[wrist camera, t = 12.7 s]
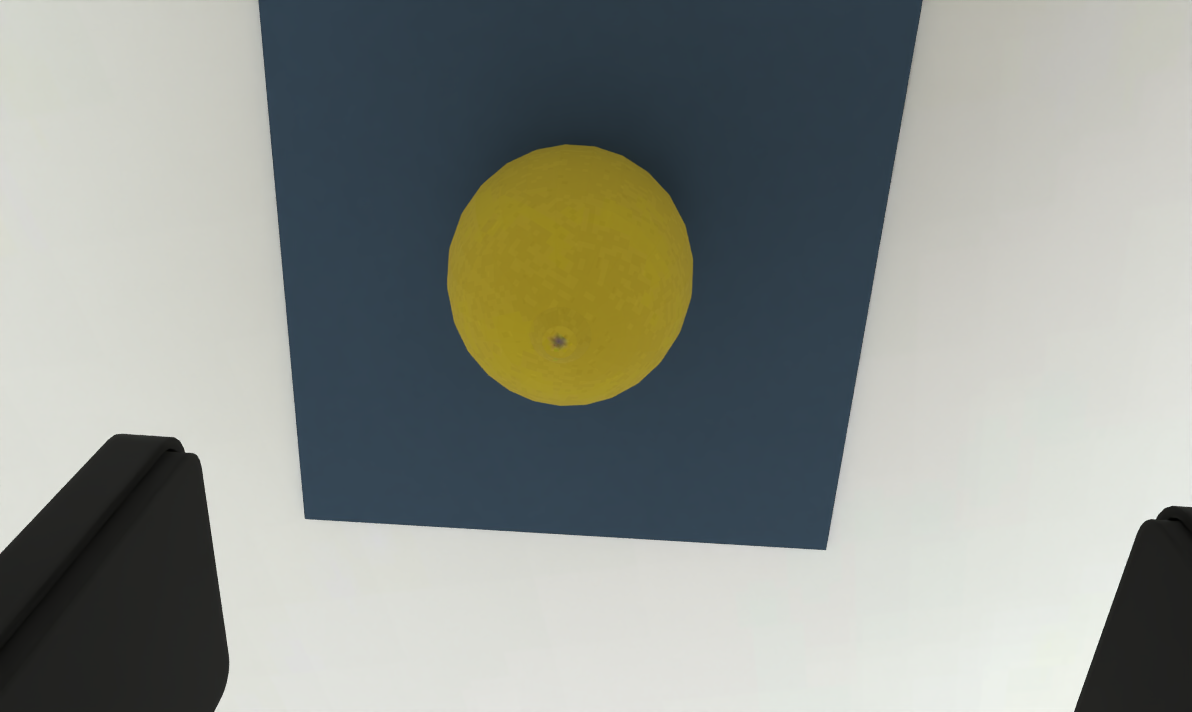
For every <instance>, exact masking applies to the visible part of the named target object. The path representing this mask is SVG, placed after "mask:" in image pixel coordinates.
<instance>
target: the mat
mask: <svg viewBox="0 0 1192 712" xmlns="http://www.w3.org/2000/svg"><path fill="white" fill-rule="evenodd" d="M922 1H923V0H259V11H260V22H261V34H262V45H263V56H264V67H265V78H266V89H267V101H268V112H269V123H270V134H271V145H272V156H273V168H274V179H275V190H276V201H277V212H278V224H279V235H280V246H281V257H282V268H283V279H284V291H285V302H286V313H287V324H288V335H289V346H290V358H291V369H292V380H293V391H294V402H295V413H296V425H297V436H298V447H299V458H300V469H301V480H302V492H303V503H304V514H305V519H315V520H332V521H349V522H365V523H382V524H399V525H416V526H432V527H449V528H466V529H483V530H499V531H516V532H533V533H550V534H566V535H583V536H600V537H617V538H633V539H650V540H667V541H684V542H700V543H717V544H734V545H751V546H767V547H784V548H801V549H818V550H826V547H827V541H828V535H829V530H830V524H831V518H832V512H833V507H834V501H835V495H836V490H837V484H838V478H839V473H840V467H841V461H842V456H843V450H844V444H845V439H846V433H847V427H848V422H849V416H850V410H851V404H852V399H853V393H854V387H855V382H856V376H857V370H858V365H859V359H860V353H861V348H862V342H863V336H864V331H865V325H866V319H867V313H868V308H869V302H870V296H871V291H872V285H873V279H874V274H875V268H876V262H877V257H878V251H879V245H880V240H881V234H882V228H883V223H884V217H885V211H886V205H887V200H888V194H889V188H890V183H891V177H892V171H893V166H894V160H895V154H896V149H897V143H898V137H899V132H900V126H901V120H902V114H903V109H904V103H905V97H906V92H907V86H908V80H909V75H910V69H911V63H912V58H913V52H914V46H915V41H916V35H917V29H918V24H919V18H920V12H921V6H922ZM565 144H567V145H582V146H595V147H598V148H601V149H604V150H607V151H610V152H613V153H616V154H619V155H622V156H624V157H625V158H627V159H629V160H630V161H632V162H633V163H635V164H636V165H638V166H639V167H641V168H643V169H644V170H646V171H647V172H648V173H649V174H650V175H651V176H652V177H653V178H654V179H655V180H656V181H657V182H658V183H659V184H660V186H661V187H662V188H663V189H664V190H665V191H666V192H667V193H668V194H669V195H670V197H671V199H672V201H673V203H674V205H675V207H676V208H677V210H678V212H679V214H680V216H681V218H682V220H683V222H684V224H685V226H686V230H687V235H688V239H689V243H690V248H691V252H692V257H693V277H692V295H691V300H690V303H689V306H688V309H687V313H686V316H685V319H684V322H683V325H682V328H681V331H680V333H679V335H678V336H677V338H676V340H675V341H674V343H673V344H672V346H671V347H670V349H669V350H668V352H667V353H666V355H665V356H664V358H663V360H662V361H661V362H660V363H659V364H658V365H657V366H656V367H655V368H654V369H653V370H652V371H651V372H650V373H649V374H648V375H647V376H646V377H645V378H643V379H642V380H641V381H640V382H639V383H638V384H636V385H634V386H632V387H631V388H629V389H627V390H625V391H623V392H622V393H620V394H618V395H616V396H614V397H612V398H610V399H606V400H602V401H598V402H595V403H591V404H587V405H569V406H558V405H552V404H547V403H541V402H536V401H532V400H530V399H528V398H525V397H523V396H521V395H519V394H516V393H514V392H512V391H509V390H508V389H507V388H505V387H504V386H503V385H501V384H500V383H498V382H497V381H496V380H494V379H493V378H492V377H490V376H489V375H488V374H487V373H486V372H485V371H484V370H483V368H482V367H481V366H480V365H479V364H478V362H477V361H476V360H475V359H474V358H473V357H472V355H471V354H470V353H469V352H468V350H467V348H466V346H465V344H464V342H463V340H462V338H461V336H460V334H459V332H458V330H457V328H456V325H455V323H454V319H453V314H452V309H451V304H450V299H449V294H448V289H447V276H448V260H449V249H450V245H451V242H452V239H453V237H454V234H455V231H456V228H457V225H458V222H459V220H460V217H461V214H462V212H463V211H464V209H465V208H466V206H467V205H468V204H469V202H470V201H471V199H472V198H473V196H474V195H475V194H476V192H477V191H478V189H479V188H480V186H481V185H482V184H483V183H484V182H485V181H487V180H488V179H489V178H490V177H491V176H493V175H494V174H495V173H496V172H497V171H498V170H500V169H501V168H502V167H503V166H504V165H506V164H507V163H509V162H511V161H513V160H515V159H517V158H519V157H522V156H524V155H526V154H528V153H530V152H532V151H535V150H537V149H543V148H548V147H554V146H559V145H565Z"/></svg>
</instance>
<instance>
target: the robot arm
mask: <svg viewBox="0 0 1192 712" xmlns="http://www.w3.org/2000/svg"><path fill="white" fill-rule="evenodd" d="M228 673H229V654H228V647H227V640H226V633H225V626H224V619H223V612H222V605H221V598H220V591H219V584H218V577H217V570H216V563H215V557H214V550H213V543H212V536H211V529H210V522H209V515H208V508H207V501H206V494H205V487H204V480H203V473H202V467H201V463H200V460H199V458H198V456H197V455H195V454H194V453H185V451H184V447H183V446H182V444H181V442H180V441H179V440H178V439H176V438H174V437H160V436H146V435H131V434H116V435H114V436H113V437H111V438H110V439H109V440H108V441H107V442H106V443H105V444H104V445H103V446H102V447H101V448H100V449H99V450H98V451H97V452H96V453H95V454H94V455H93V456H92V457H91V459H90V460H89V461H88V462H87V463H86V464H85V465H84V466H83V467H82V468H81V469H80V470H79V471H78V472H77V473H76V474H75V475H74V476H73V478H72V479H71V480H70V481H69V482H68V483H67V484H66V485H65V486H64V487H63V488H62V489H61V490H60V491H59V492H58V493H57V494H56V496H55V497H54V498H53V499H52V500H51V501H50V502H49V503H48V504H47V505H46V506H45V507H44V508H43V509H42V510H41V511H40V512H39V513H38V515H37V516H36V517H35V518H34V519H33V520H32V521H31V522H30V523H29V524H28V525H27V526H26V527H25V528H24V529H23V530H22V531H21V532H20V534H19V535H18V536H17V537H16V538H15V539H14V540H13V541H12V542H11V543H10V544H9V545H8V546H7V547H6V548H5V549H4V550H3V552H2V553H1V554H0V712H214V711H215V709H216V707H217V705H218V703H219V701H220V699H221V697H222V695H223V692H224V690H225V686H226V683H227V678H228ZM1074 712H1192V507H1180V506H1170V507H1167V508H1165V509H1164V510H1163V511H1162V512H1161V513H1160V514H1159V515H1158V516H1157V518H1156V520H1155V519H1150V520H1147V521H1145V522H1144V523H1143V524H1142V525H1141V527H1140V529H1139V531H1138V533H1137V535H1136V538H1135V541H1134V544H1133V547H1132V549H1131V552H1130V555H1129V558H1128V561H1127V564H1126V566H1125V569H1124V572H1123V575H1122V578H1121V580H1120V583H1119V586H1118V589H1117V592H1116V595H1115V597H1114V600H1113V603H1112V606H1111V609H1110V612H1109V614H1108V617H1107V620H1106V623H1105V626H1104V629H1103V631H1102V634H1101V637H1100V640H1099V643H1098V645H1097V648H1096V651H1095V654H1094V657H1093V660H1092V662H1091V665H1090V668H1089V671H1088V674H1087V677H1086V679H1085V682H1084V685H1083V688H1082V691H1081V694H1080V696H1079V699H1078V702H1077V705H1076V708H1075V711H1074Z"/></svg>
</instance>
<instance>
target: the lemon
mask: <svg viewBox="0 0 1192 712" xmlns="http://www.w3.org/2000/svg"><path fill="white" fill-rule="evenodd" d="M692 277H693V257H692V252H691V248H690V243H689V239H688V235H687V230H686V226H685V224H684V222H683V220H682V218H681V216H680V214H679V212H678V210H677V208H676V207H675V205H674V203H673V201H672V199H671V197H670V195H669V194H668V193H667V192H666V191H665V190H664V189H663V188H662V187H661V186H660V184H659V183H658V182H657V181H656V180H655V179H654V178H653V177H652V176H651V175H650V174H649V173H648V172H647V171H646V170H644V169H643V168H641V167H639V166H638V165H636V164H635V163H633V162H632V161H630V160H629V159H627V158H625V157H624V156H622V155H619V154H616V153H613V152H610V151H607V150H604V149H601V148H598V147H595V146H582V145H567V144H565V145H559V146H554V147H548V148H543V149H537V150H535V151H532V152H530V153H528V154H526V155H524V156H522V157H519V158H517V159H515V160H513V161H511V162H509V163H507V164H506V165H504V166H503V167H502V168H501V169H500V170H498V171H497V172H496V173H495V174H494V175H493V176H491V177H490V178H489V179H488V180H487V181H485V182H484V183H483V184H482V185H481V186H480V188H479V189H478V191H477V192H476V194H475V195H474V196H473V198H472V199H471V201H470V202H469V204H468V205H467V206H466V208H465V209H464V211H463V212H462V214H461V217H460V220H459V222H458V225H457V228H456V231H455V234H454V237H453V239H452V242H451V245H450V249H449V260H448V276H447V289H448V294H449V299H450V304H451V309H452V314H453V319H454V323H455V325H456V328H457V330H458V332H459V334H460V336H461V338H462V340H463V342H464V344H465V346H466V348H467V350H468V352H469V353H470V354H471V355H472V357H473V358H474V359H475V360H476V361H477V362H478V364H479V365H480V366H481V367H482V368H483V370H484V371H485V372H486V373H487V374H488V375H489V376H490V377H492V378H493V379H494V380H496V381H497V382H498V383H500V384H501V385H503V386H504V387H505V388H507V389H508V390H509V391H512V392H514V393H516V394H519V395H521V396H523V397H525V398H528V399H530V400H532V401H536V402H541V403H547V404H552V405H558V406H569V405H587V404H591V403H595V402H598V401H602V400H606V399H610V398H612V397H614V396H616V395H618V394H620V393H622V392H623V391H625V390H627V389H629V388H631V387H632V386H634V385H636V384H638V383H639V382H640V381H641V380H642V379H643V378H645V377H646V376H647V375H648V374H649V373H650V372H651V371H652V370H653V369H654V368H655V367H656V366H657V365H658V364H659V363H660V362H661V361H662V360H663V358H664V356H665V355H666V353H667V352H668V350H669V349H670V347H671V346H672V344H673V343H674V341H675V340H676V338H677V336H678V335H679V333H680V331H681V328H682V325H683V322H684V319H685V316H686V313H687V309H688V306H689V303H690V300H691V295H692Z"/></svg>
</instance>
